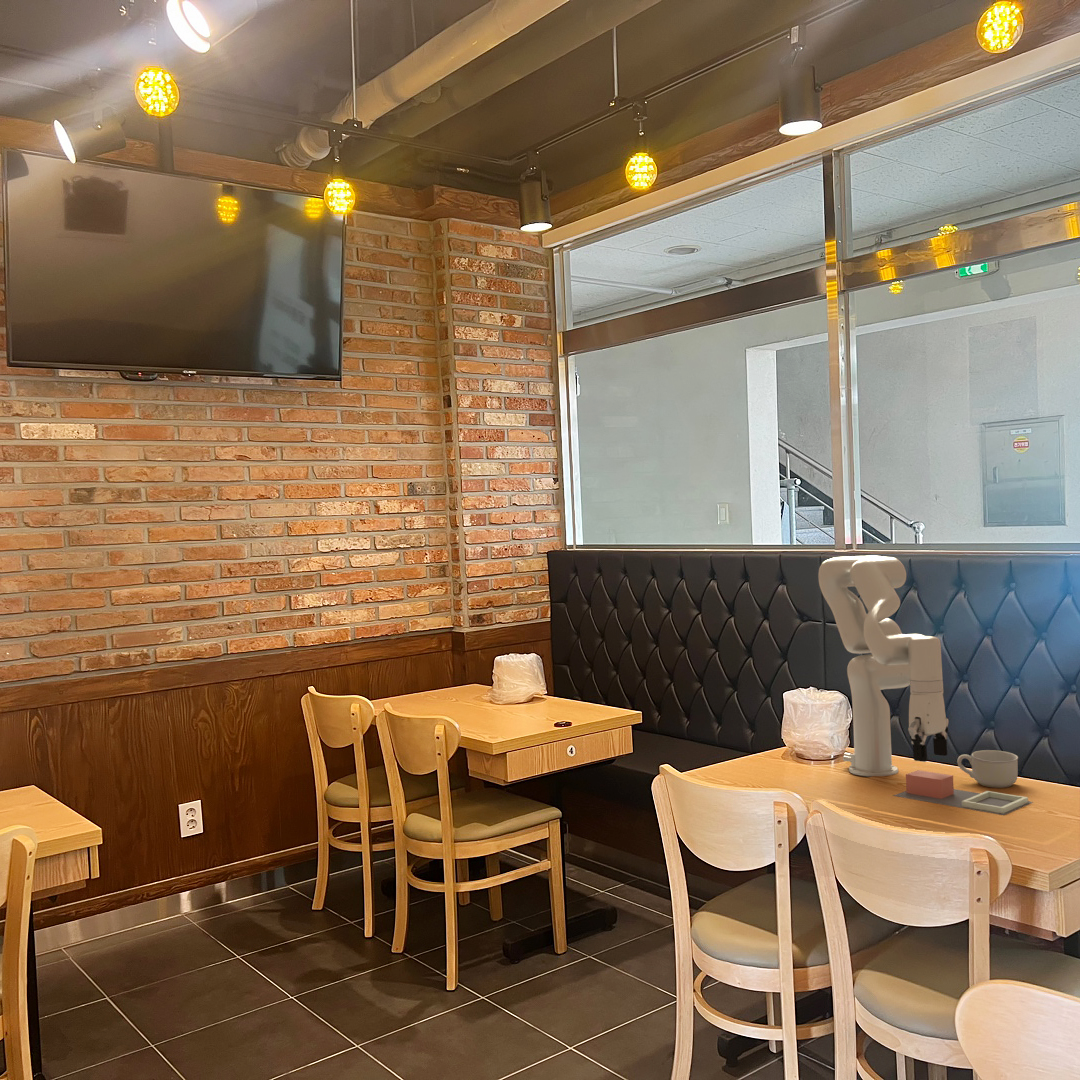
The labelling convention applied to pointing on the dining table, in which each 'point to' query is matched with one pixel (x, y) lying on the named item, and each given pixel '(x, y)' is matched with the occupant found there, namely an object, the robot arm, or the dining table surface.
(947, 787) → the card deck
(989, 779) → the teacup
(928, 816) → the dining table surface
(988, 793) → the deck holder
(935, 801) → the play mat
